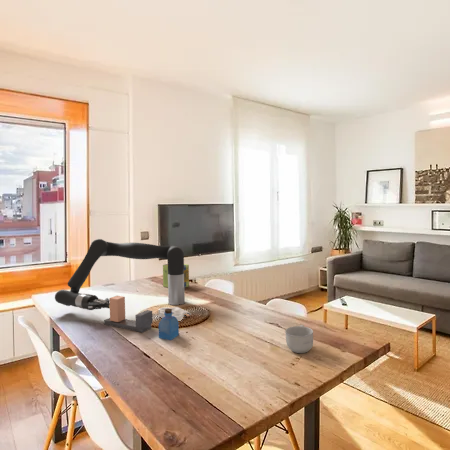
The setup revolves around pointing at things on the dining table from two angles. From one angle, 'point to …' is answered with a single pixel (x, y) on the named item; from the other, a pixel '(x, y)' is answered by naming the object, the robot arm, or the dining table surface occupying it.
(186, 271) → the protein box
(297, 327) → the teacup
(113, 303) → the carriage
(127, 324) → the rail
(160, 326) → the perfume bottle
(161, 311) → the white brass knuckles
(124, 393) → the dining table surface
